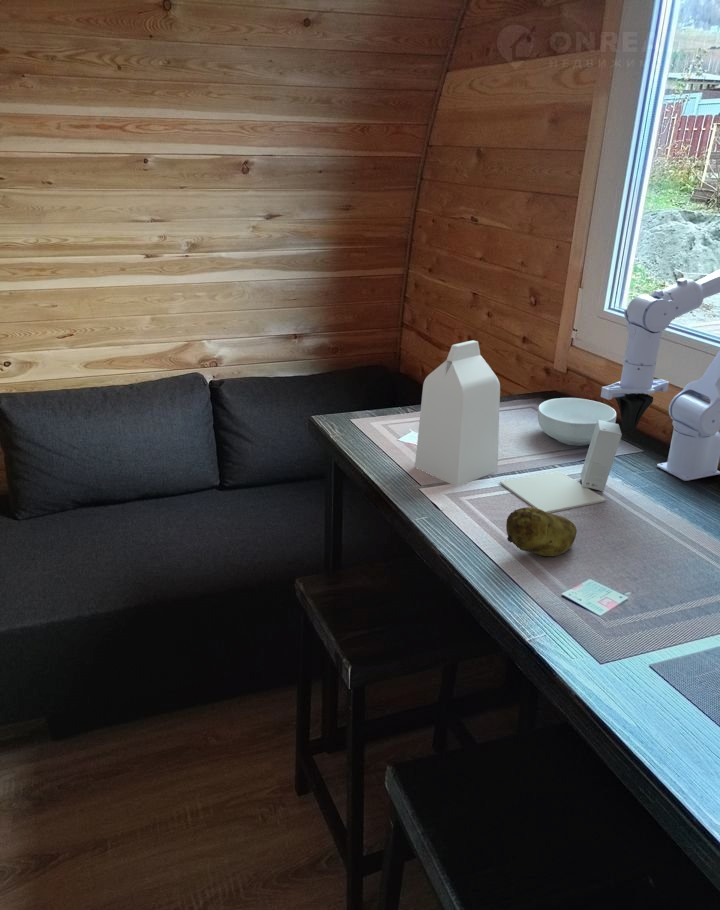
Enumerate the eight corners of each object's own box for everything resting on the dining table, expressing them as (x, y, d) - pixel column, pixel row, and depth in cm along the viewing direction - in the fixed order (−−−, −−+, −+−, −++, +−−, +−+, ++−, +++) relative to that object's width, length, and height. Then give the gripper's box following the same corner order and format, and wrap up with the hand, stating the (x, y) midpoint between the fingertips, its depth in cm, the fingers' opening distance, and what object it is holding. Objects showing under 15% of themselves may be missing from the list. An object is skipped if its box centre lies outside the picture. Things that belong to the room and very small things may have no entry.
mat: (558, 472, 155) (559, 470, 155) (605, 501, 143) (605, 499, 143) (499, 483, 150) (499, 481, 150) (543, 514, 138) (543, 512, 138)
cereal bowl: (553, 420, 183) (556, 392, 180) (622, 436, 174) (627, 407, 172) (522, 441, 170) (525, 411, 168) (595, 460, 162) (600, 428, 159)
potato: (588, 562, 123) (595, 517, 120) (511, 567, 121) (515, 522, 118) (568, 537, 130) (574, 494, 127) (494, 541, 129) (498, 498, 125)
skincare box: (604, 492, 147) (622, 434, 142) (581, 487, 148) (599, 429, 143) (601, 479, 153) (619, 423, 148) (580, 474, 153) (596, 418, 148)
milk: (457, 486, 148) (467, 355, 138) (414, 467, 156) (421, 342, 146) (497, 470, 155) (509, 344, 145) (454, 453, 163) (463, 332, 153)
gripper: (624, 371, 137) (612, 442, 142) (685, 363, 143) (672, 432, 148) (597, 360, 143) (587, 429, 148) (657, 354, 149) (645, 420, 154)
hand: (628, 430), depth 149 cm, fingers closed
